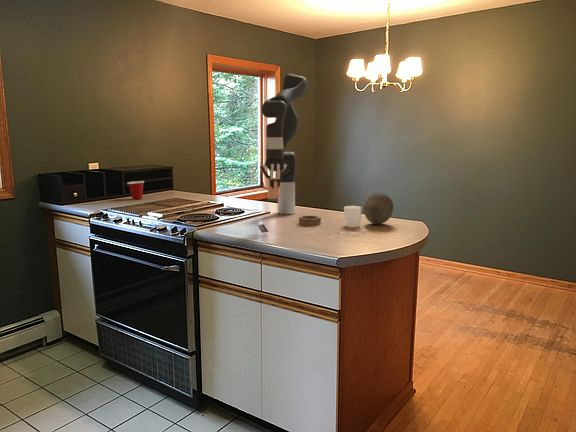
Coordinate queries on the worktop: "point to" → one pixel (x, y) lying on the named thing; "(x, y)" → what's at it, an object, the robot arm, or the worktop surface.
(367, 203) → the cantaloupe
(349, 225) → the white cup
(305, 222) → the walnut holder
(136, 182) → the plastic cup
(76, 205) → the worktop surface
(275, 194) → the peach ice lolly
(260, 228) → the charcoal mat
